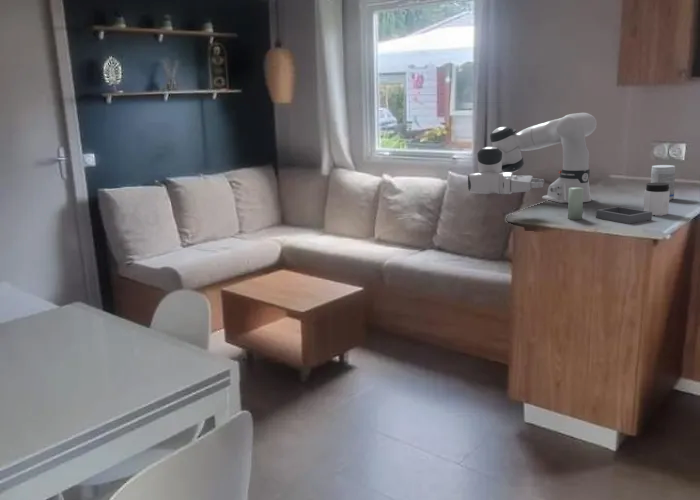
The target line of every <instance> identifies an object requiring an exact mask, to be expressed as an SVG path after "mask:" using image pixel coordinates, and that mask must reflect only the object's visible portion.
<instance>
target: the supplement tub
mask: <svg viewBox="0 0 700 500" xmlns="http://www.w3.org/2000/svg"><path fill="white" fill-rule="evenodd" d="M650 171H651V174H650V183H668V184H669V191H670V196H669V201H671V200H674V198H675V186H676V185H675V184H676V182H675V181H676V165H672V164H671V165H670V164H657V165H651V170H650Z"/></svg>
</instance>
